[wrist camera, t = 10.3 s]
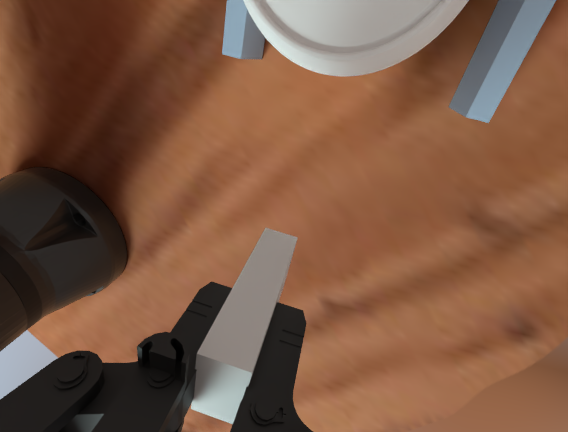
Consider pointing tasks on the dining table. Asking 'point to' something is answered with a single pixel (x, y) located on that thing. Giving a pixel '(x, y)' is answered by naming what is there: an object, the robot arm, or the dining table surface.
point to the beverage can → (351, 31)
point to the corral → (480, 72)
